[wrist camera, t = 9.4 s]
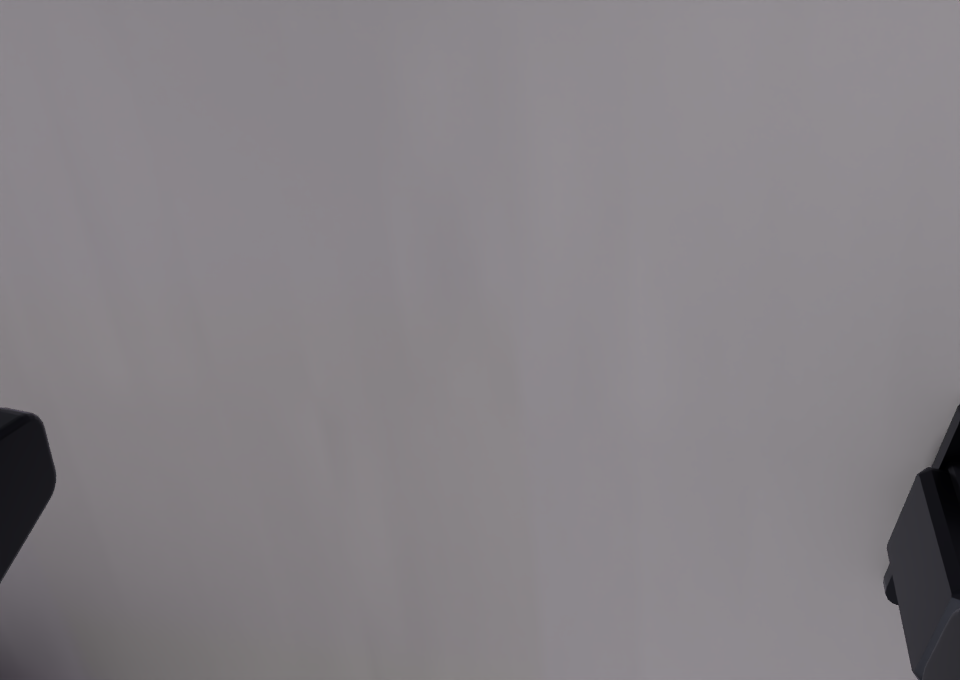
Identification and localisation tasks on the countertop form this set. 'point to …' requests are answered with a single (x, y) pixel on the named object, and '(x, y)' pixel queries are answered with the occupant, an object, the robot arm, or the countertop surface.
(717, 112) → the countertop surface
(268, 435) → the countertop surface
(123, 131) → the countertop surface
